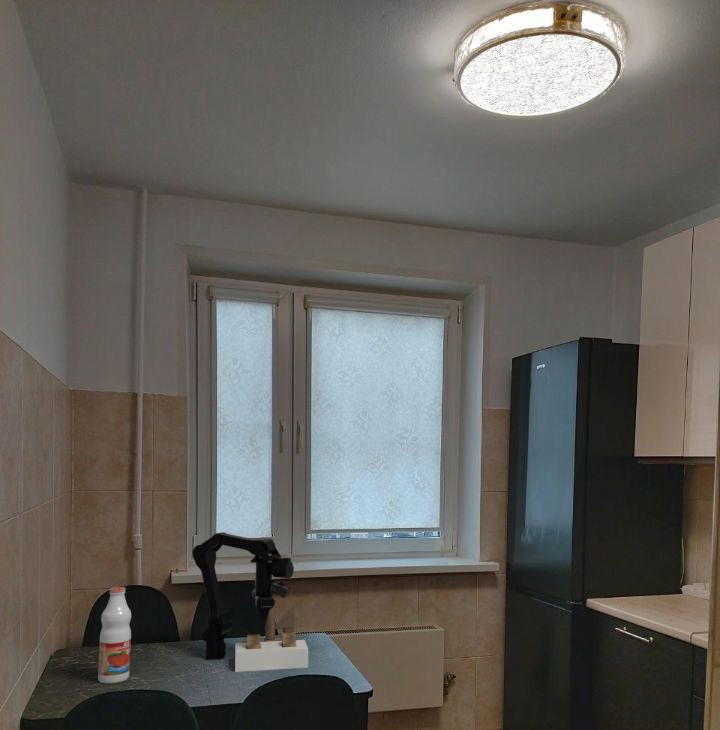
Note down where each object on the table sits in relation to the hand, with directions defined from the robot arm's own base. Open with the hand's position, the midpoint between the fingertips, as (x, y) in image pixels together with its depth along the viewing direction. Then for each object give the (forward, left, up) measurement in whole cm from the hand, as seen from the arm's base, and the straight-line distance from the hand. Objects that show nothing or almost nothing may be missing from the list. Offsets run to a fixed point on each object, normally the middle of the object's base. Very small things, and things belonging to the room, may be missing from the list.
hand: (262, 622), depth 233 cm
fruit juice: (-47, -9, -13) cm, 50 cm away
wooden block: (+7, +17, -13) cm, 23 cm away
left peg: (-3, -3, -9) cm, 10 cm away
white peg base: (+3, -3, -13) cm, 14 cm away
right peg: (+9, -3, -9) cm, 13 cm away
